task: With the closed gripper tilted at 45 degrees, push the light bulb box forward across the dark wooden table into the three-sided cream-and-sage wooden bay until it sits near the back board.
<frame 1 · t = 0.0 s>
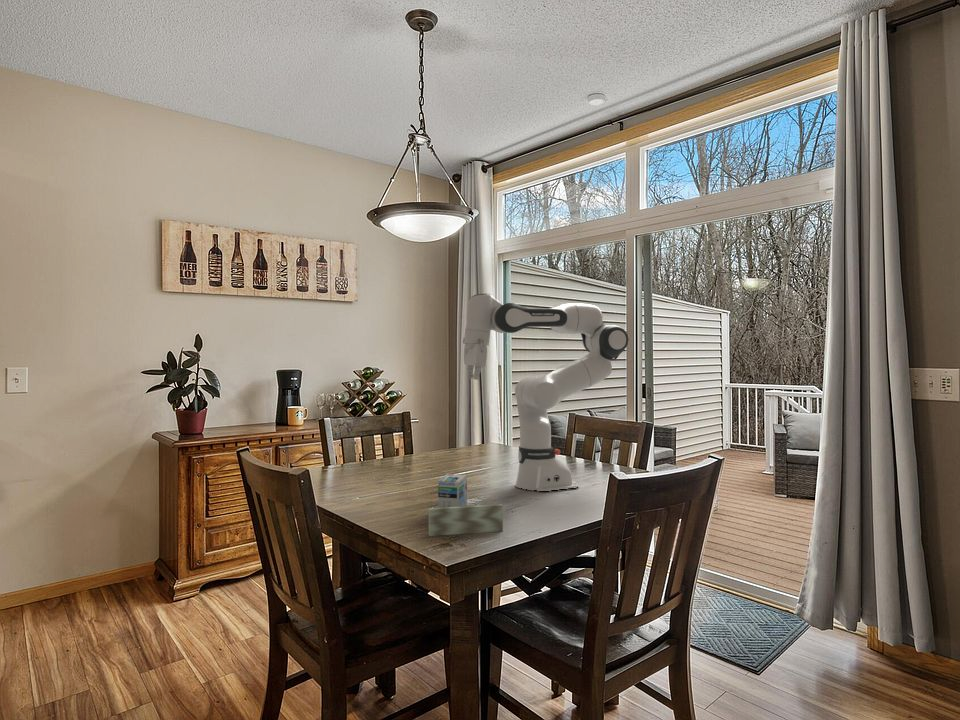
hand: (472, 378, 202), 39 cm above the table, tool pointing down, fingers open, 8 cm apart
light bulb box: (452, 513, 174), on the table
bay: (461, 525, 162), on the table
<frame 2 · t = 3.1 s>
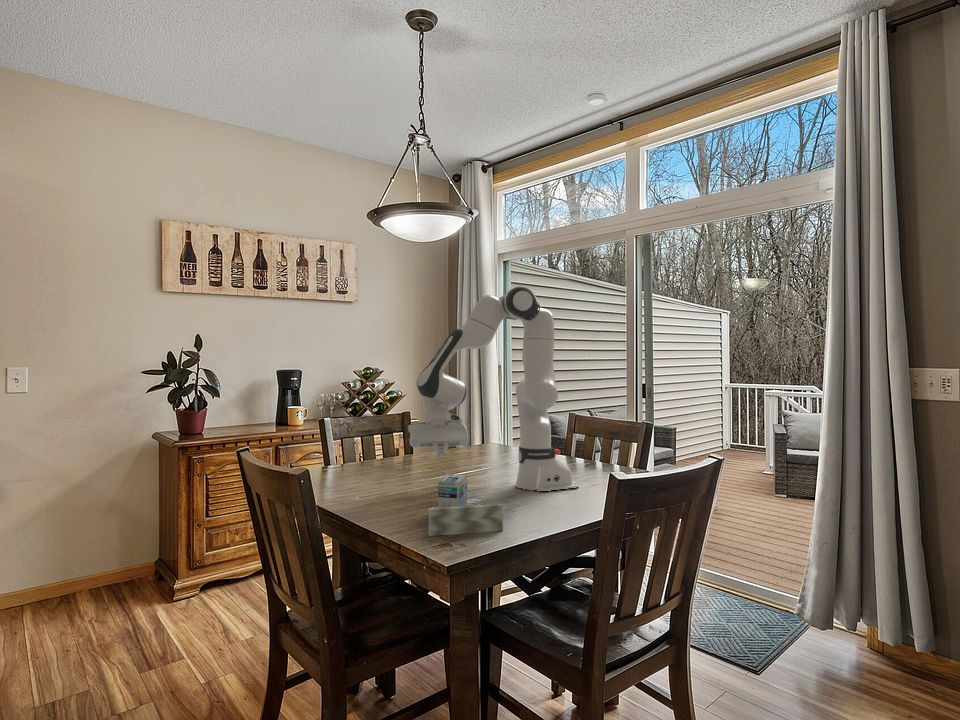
hand: (441, 455, 194), 14 cm above the table, tool tilted 45°, fingers closed
nothing on the table moved.
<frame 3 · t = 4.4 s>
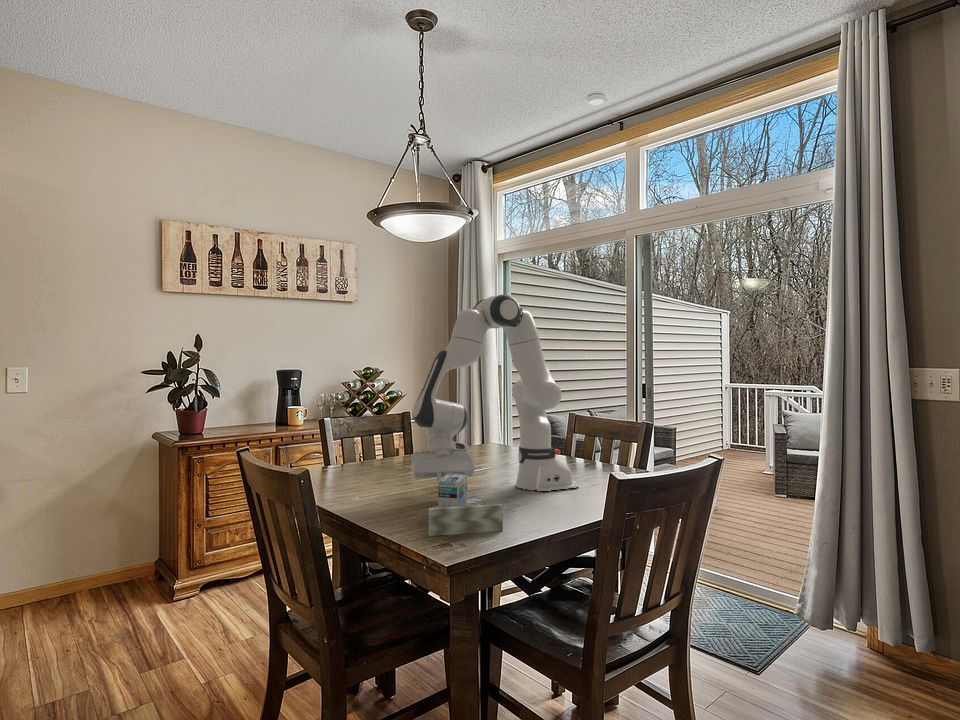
hand: (445, 487, 184), 5 cm above the table, tool tilted 45°, fingers closed
nothing on the table moved.
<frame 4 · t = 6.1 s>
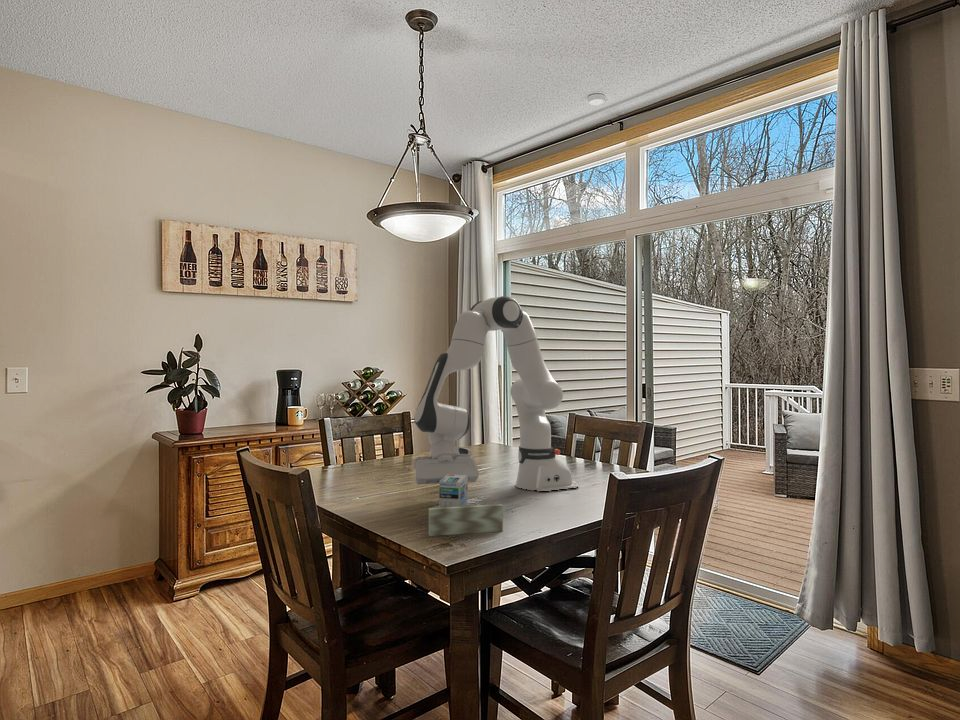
hand: (449, 493, 179), 4 cm above the table, tool tilted 45°, fingers closed
light bulb box: (453, 514, 173), on the table, touching gripper
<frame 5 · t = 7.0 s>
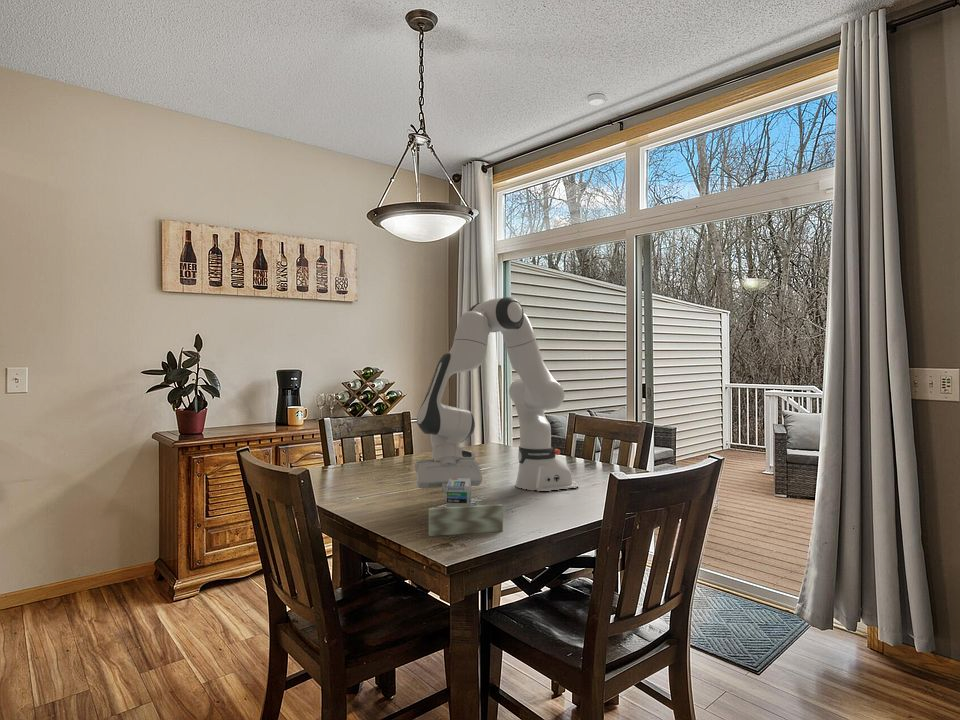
hand: (452, 498, 174), 4 cm above the table, tool tilted 45°, fingers closed
light bulb box: (459, 519, 168), on the table, touching gripper
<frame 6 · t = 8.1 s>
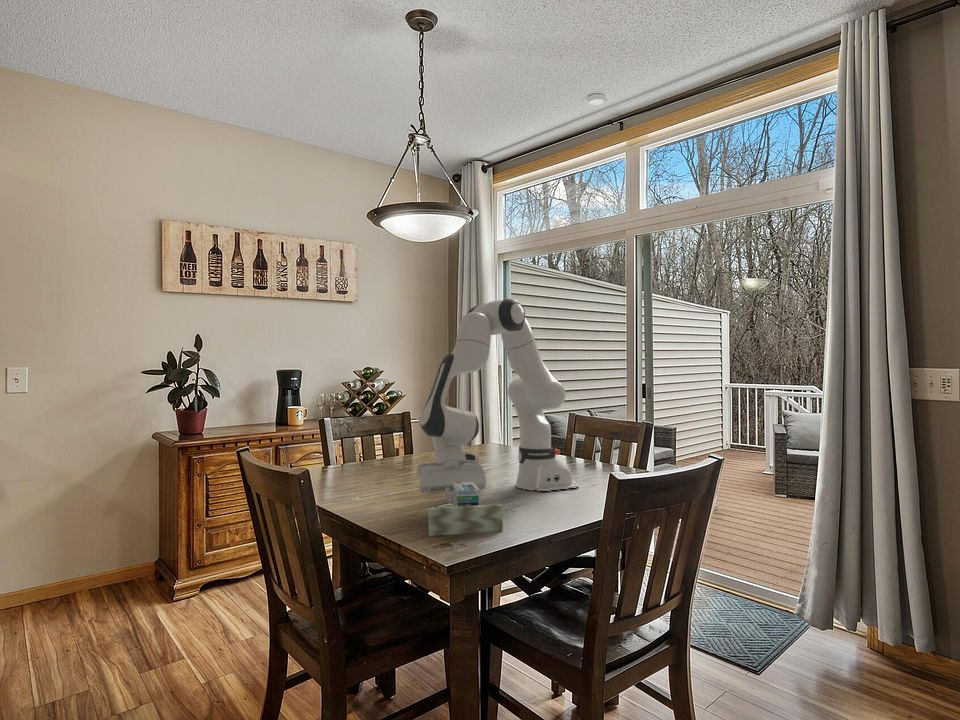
hand: (455, 502, 169), 4 cm above the table, tool tilted 45°, fingers closed, pressing on light bulb box
light bulb box: (465, 523, 164), on the table, touching gripper
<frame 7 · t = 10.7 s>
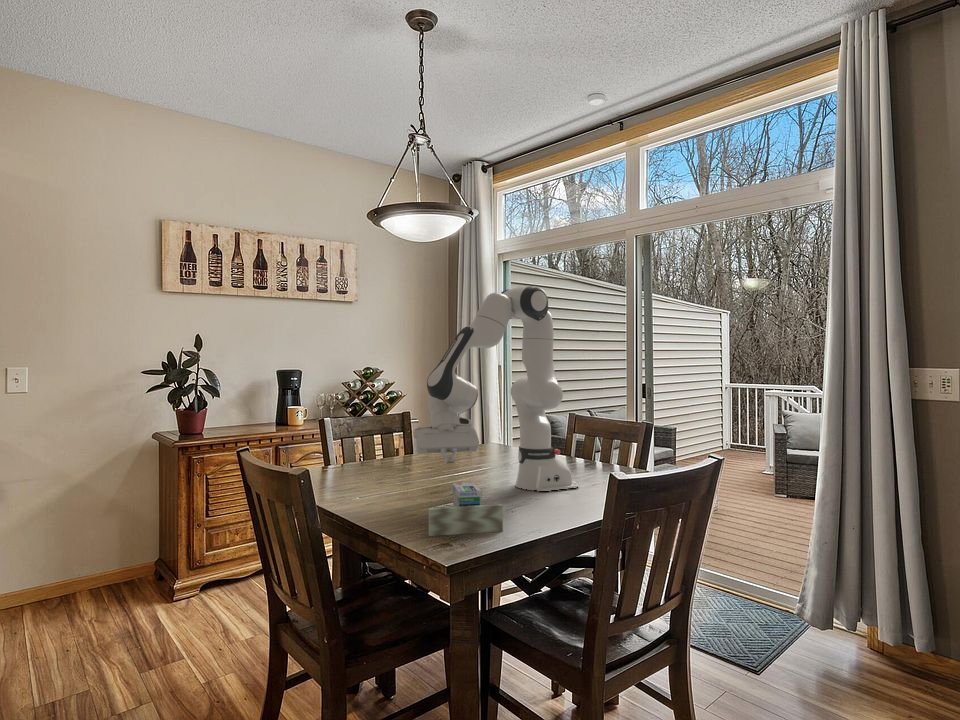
hand: (450, 462, 179), 14 cm above the table, tool tilted 45°, fingers closed
light bulb box: (467, 525, 163), on the table
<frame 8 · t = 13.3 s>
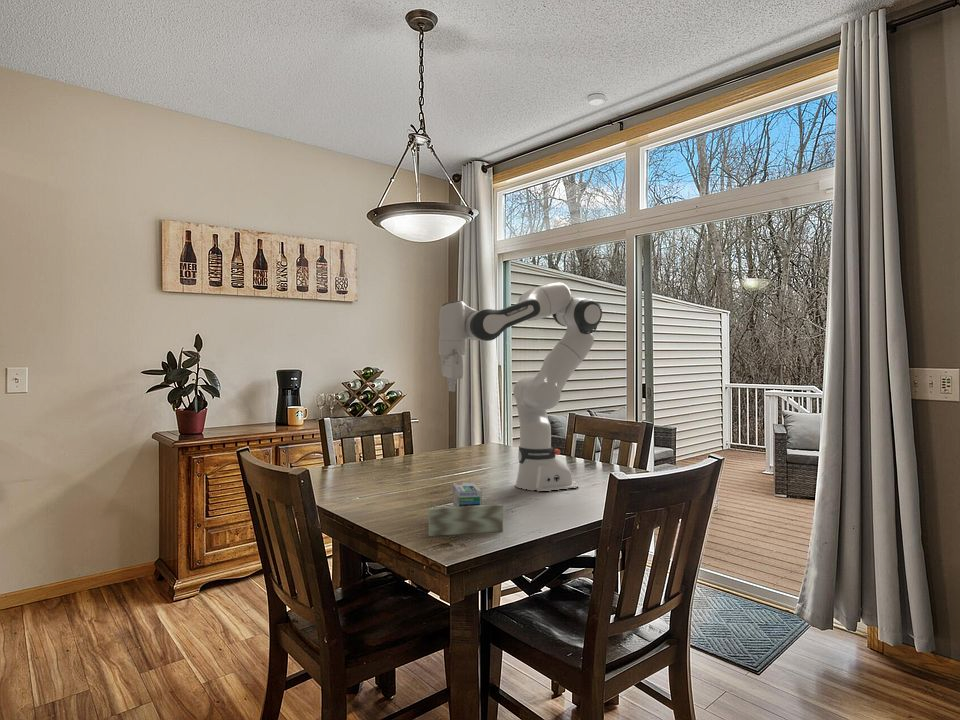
hand: (451, 391, 193), 35 cm above the table, tool pointing down, fingers closed
nothing on the table moved.
at the end: light bulb box 1.8 cm off-centre on the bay, point 0.0 cm above the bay's base; light bulb box tilted 0° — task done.
